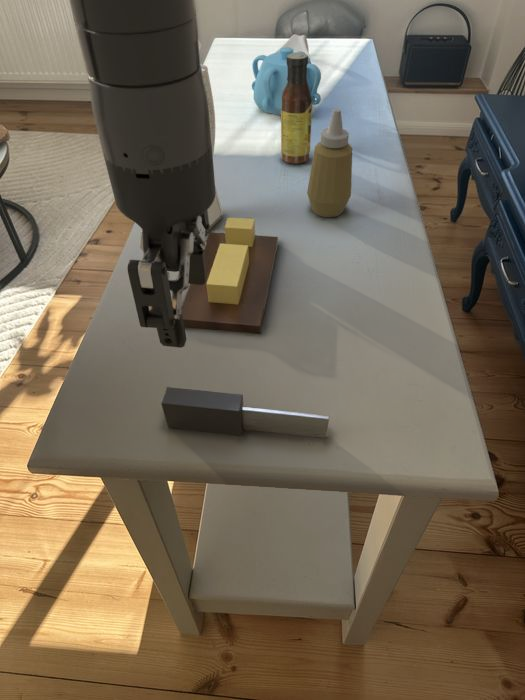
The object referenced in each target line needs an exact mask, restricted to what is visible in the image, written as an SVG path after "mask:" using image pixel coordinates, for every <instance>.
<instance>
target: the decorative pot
mask: <svg viewBox="0 0 525 700" xmlns="http://www.w3.org/2000/svg"><path fill="white" fill-rule="evenodd" d="M280 48H281V47H280ZM280 48H279V49H280ZM292 53H296V52H293V49H292V48H289V47H284V48H281V49H280V52H277V51H275V52H273V53H271V54H268V55H266V54H260V55H257V56H256V57H255V58H254V59H253V60H252V64H251V65H252V73H253V76H254V81H252V83H251V89H252V91H253V100H254V102H255V105H256V106H257V107H258V109H259V110H261V111H262V112H263V113H266V114H269V113H270V114H274V115H280V116H281V108H282V92H283V90H284V88H285V86H286V85H287V82H288V81H287V77H288V66H287V55H289V54H292ZM297 53H304V52H302V51H299V52H297ZM304 54H305V53H304ZM259 61H262V62H261V64H260V67H259ZM321 81H322V72H321V70H320V68H319V67H318V66H317V65H315V64H314V63H312V61H311V57H310V58H309V57H308V64H307V82H308V86H309V90H310V94H311V98H312V106H317V105H319V104H320V103H321V100H322V98H321V94H319V93H318V89H319V86H320V83H321Z"/></svg>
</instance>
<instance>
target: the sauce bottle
mask: <svg viewBox="0 0 525 700" xmlns="http://www.w3.org/2000/svg"><path fill="white" fill-rule="evenodd" d="M307 64H308V55H307V54H304V53H292V54H289V55H287V66H288V77H287V81H288V82H287V85H286V86H285V88H284V90H283V92H282V108H281V115H280V142H281V143H280V152H281V159H282V161H284V162H285V163H287V164H290V165H291V164H292V165H299V164H304V163H306V162H307V161H309V158H310V152H311V139H312V137H311V136H312V119H313V117H312V115H313V114H312V113H313V104H312V98H311V94H310V90H309V86H308V82H307Z"/></svg>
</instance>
